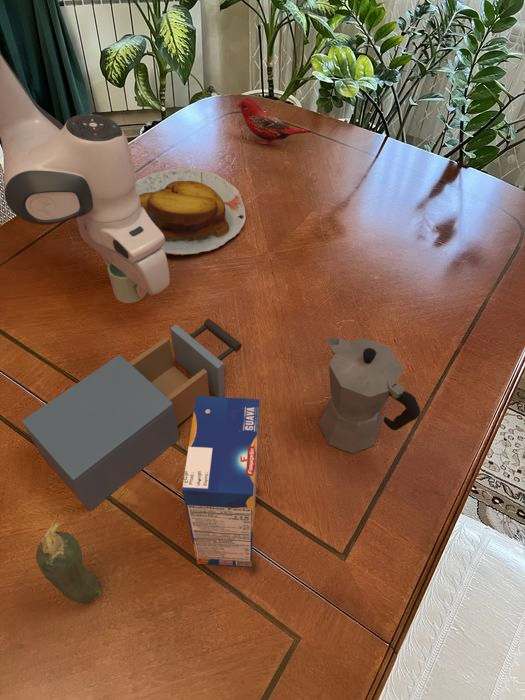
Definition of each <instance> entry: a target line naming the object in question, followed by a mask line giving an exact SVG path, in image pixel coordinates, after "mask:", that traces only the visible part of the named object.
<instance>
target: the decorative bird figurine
mask: <svg viewBox="0 0 525 700" xmlns="http://www.w3.org/2000/svg"><path fill="white" fill-rule="evenodd" d="M236 106H237V107H239V109H240V111H241V114H242V116H243V119H244V122H245V124H246V126H247V128H248V129H249V131H250V132H251V133H253V134H254V135H255V136H256V137H257V138H259V139H262V140H256V139H253V141H254V142H256V143H258V144H259V145H262V146H263V145H264V146H269V147H275V145H274V144H273V143H272V142H273V141H278V140H284V139H287V138H288V137H290V136H293V135H297V134H305V133H307V134H308V133H311V132H312V130H309V129H301V128H292V127H290V126H289V125H288V124H286V123H285V122H283V121H282V120H280V119H278V118H277V117H275V116H273V115H272V114H269V113H268V112H266V111H265V110H264V109H262V108H261V107H260V106H259V105H258V104H257V102H256V101H254V100H252V99H251V98H248V97H245V98H243V99H242V100H241V101H240V103H238V104H237V105H236ZM264 140H265V141H264Z"/></svg>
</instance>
